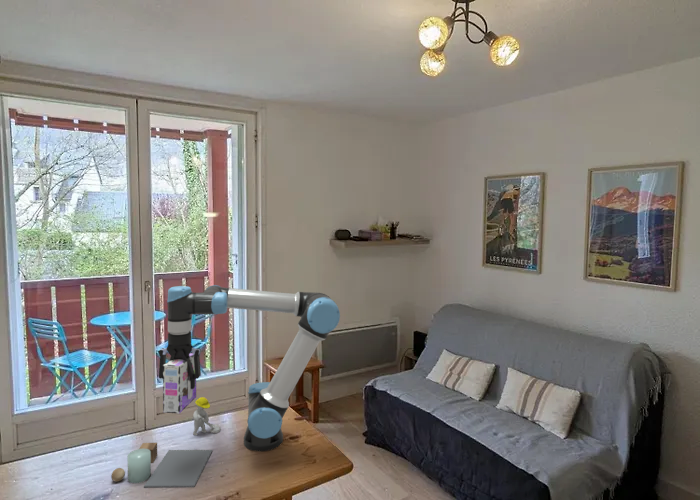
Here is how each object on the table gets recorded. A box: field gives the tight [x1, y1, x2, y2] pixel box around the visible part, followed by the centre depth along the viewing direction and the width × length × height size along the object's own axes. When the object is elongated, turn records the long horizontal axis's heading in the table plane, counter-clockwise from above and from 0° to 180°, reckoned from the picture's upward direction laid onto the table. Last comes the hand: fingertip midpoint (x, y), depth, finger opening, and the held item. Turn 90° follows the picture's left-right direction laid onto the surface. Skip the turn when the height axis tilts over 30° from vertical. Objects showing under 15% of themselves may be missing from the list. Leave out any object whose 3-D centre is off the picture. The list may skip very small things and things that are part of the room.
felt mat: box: [143, 449, 213, 489], centre depth 153 cm, size 16×22×1 cm
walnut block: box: [138, 442, 158, 464], centre depth 158 cm, size 5×5×5 cm
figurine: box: [192, 396, 222, 436], centre depth 177 cm, size 10×9×15 cm
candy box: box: [162, 352, 197, 414], centre depth 151 cm, size 14×6×16 cm, turn 176°
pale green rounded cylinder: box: [126, 448, 152, 484], centre depth 147 cm, size 7×7×8 cm
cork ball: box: [110, 467, 126, 483], centre depth 145 cm, size 4×4×4 cm
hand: (180, 397), depth 151 cm, fingers closed on candy box, 6 cm apart
